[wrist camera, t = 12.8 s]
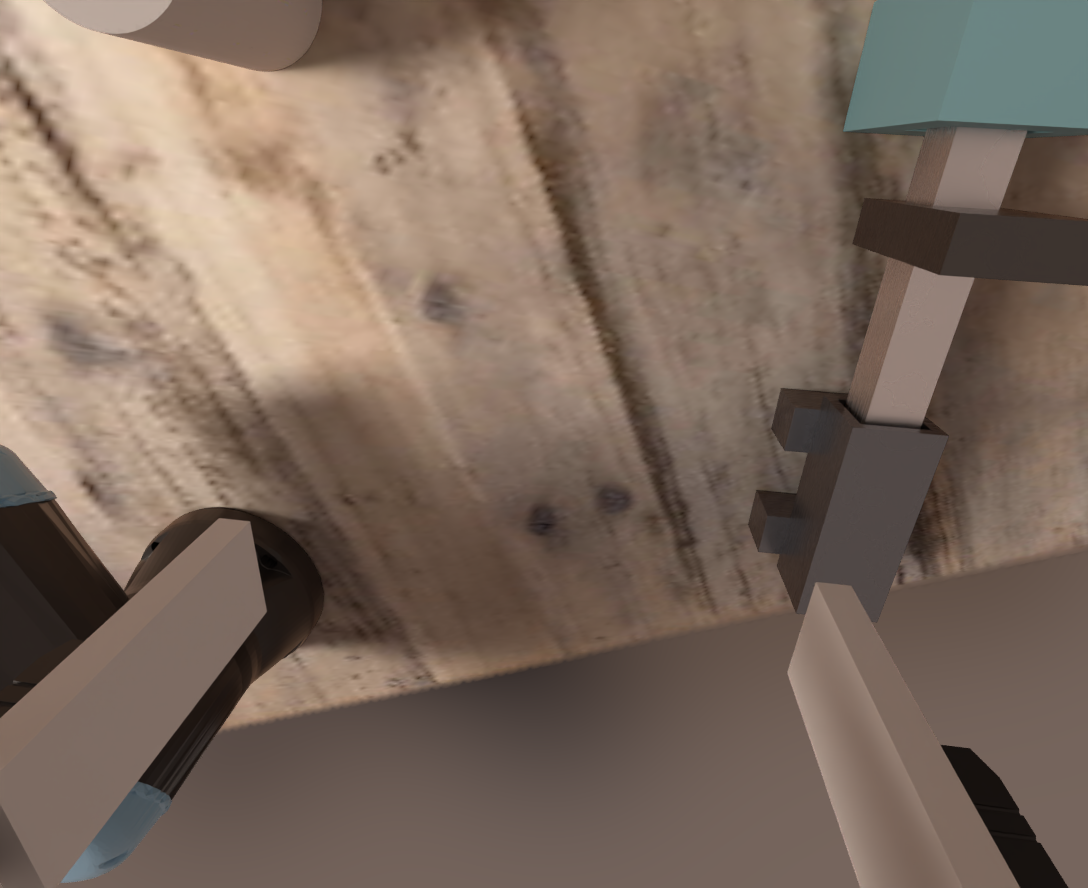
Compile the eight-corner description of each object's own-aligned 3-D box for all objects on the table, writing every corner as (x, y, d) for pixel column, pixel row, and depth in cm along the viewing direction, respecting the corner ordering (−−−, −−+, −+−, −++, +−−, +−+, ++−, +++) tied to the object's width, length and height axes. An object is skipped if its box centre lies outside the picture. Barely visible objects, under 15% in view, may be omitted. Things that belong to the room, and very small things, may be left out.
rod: (878, 496, 40) (955, 594, 31) (787, 488, 41) (837, 581, 32) (1031, 56, 29) (1217, 10, 20) (904, 50, 30) (1030, 2, 21)
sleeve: (853, 546, 45) (901, 625, 38) (745, 535, 46) (772, 610, 38) (907, 384, 40) (978, 438, 32) (784, 374, 40) (824, 424, 33)
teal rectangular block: (990, 139, 33) (1149, 131, 24) (843, 131, 34) (937, 120, 24) (1034, 9, 31) (1234, -62, 21) (874, 2, 31) (994, -70, 21)
